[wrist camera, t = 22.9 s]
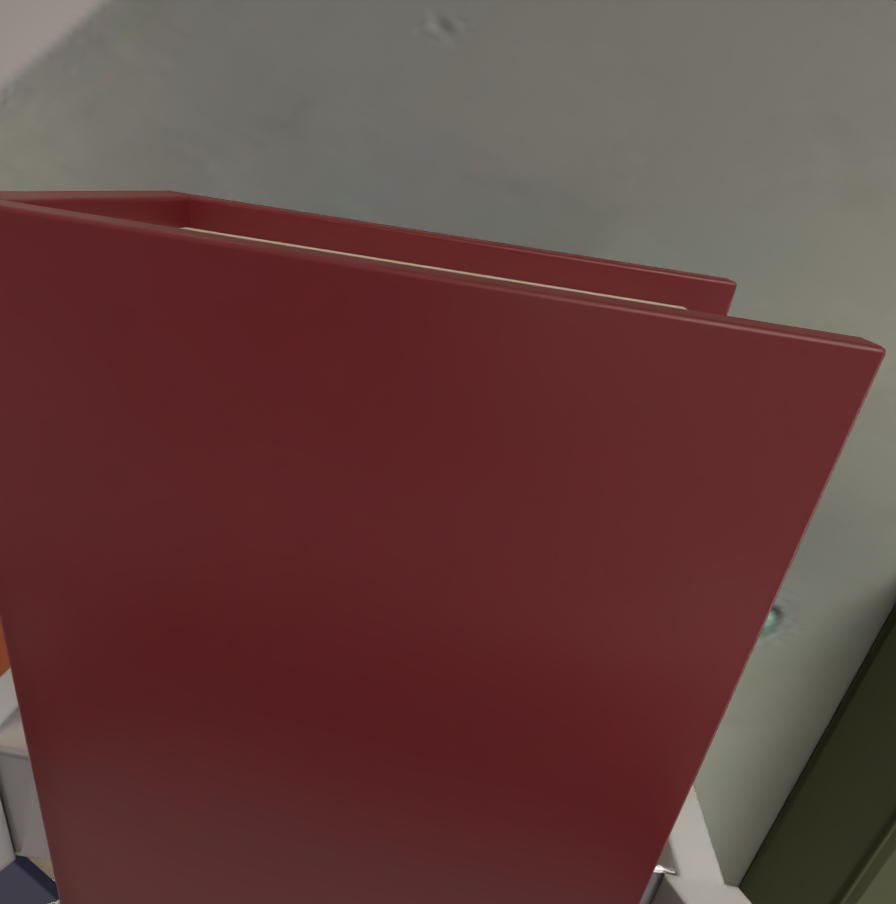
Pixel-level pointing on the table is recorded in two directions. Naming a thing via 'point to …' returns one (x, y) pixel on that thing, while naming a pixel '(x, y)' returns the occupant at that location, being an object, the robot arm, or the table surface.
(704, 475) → the burgundy book
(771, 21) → the table surface
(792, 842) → the olive book
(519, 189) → the table surface
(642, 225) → the table surface
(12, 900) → the navy book
